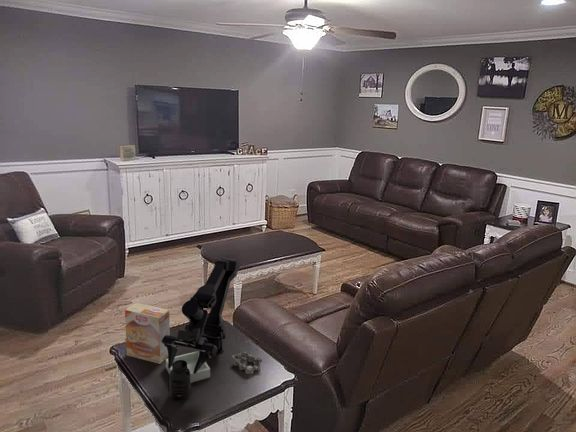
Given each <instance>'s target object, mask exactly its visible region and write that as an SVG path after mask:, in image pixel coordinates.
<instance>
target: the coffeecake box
mask: <svg viewBox="0 0 576 432" xmlns="http://www.w3.org/2000/svg"><path fill="white" fill-rule="evenodd" d="M124 315H125V317H124V318H125V319H124V320H125V338H126V339H125V340H126V341H125V343H126V356H127V357H131V358H135V359H139V360H143V361H147V362H150V363H155V364H159V365H161V364H162V363H163V362H164V361H166V359H168V350H167V347H165V346H164V344H163V343H162V339H163V337H164V336H165V335H169V336H171V335H170V333H171V332H170V331H171V330H170V327H171V326H170V309H166V308H162V307H159V306H158V307H157V306H155V305H154V306H153V305H149V304H145V303H140V302H134V304H133V303H132V305H130V306H128V307H126V309H124Z"/></svg>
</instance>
